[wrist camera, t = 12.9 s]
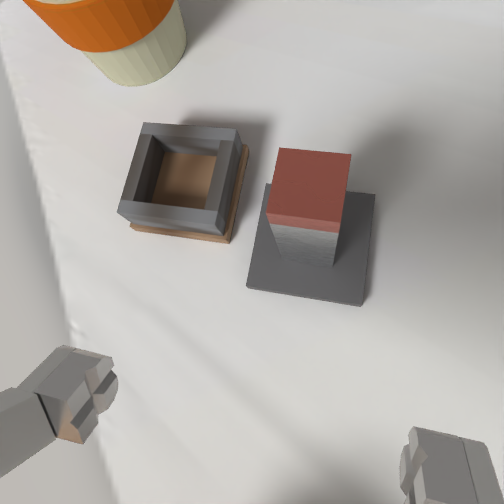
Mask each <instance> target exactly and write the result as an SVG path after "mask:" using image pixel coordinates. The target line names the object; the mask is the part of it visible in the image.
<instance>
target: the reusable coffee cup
mask: <svg viewBox="0 0 504 504" xmlns="http://www.w3.org/2000/svg"><path fill="white" fill-rule="evenodd" d="M23 1H24V2H25V3H26V4H27V5H28V6H29V7H30V8H31V9H32V10H33V11H34V12H35V13H36V14H37V15H38V16H39V17H40V18H41V19H42V20H43V21H44V22H45V23H46V24H47V25H48V26H49V27H50V28H51V29H52V30H53V31H54V32H55V33H56V34H57V35H58V36H59V37H61V38H62V39H63V40H64V41H65V42H66V43H67V44H69V45H70V46H72V47H73V48H76V49H79V50H81V51H82V52H83V53H84V54H85V55H86V56H87V57H88V58H89V59H90V60H91V61H92V62H93V63H94V64H95V65H96V67H97V68H98V69H99V70H100V71H101V72H102V73H103V74H104V75H105V76H106V77H107V78H109V79H110V80H111V81H113V82H114V83H117V84H119V85H123V86H141V85H146V84H149V83H152V82H154V81H156V80H158V79H160V78H162V77H164V76H165V75H166V74H167V73H169V72H170V71H171V70H172V69H173V68H174V67H175V66H176V65H177V63H178V62H179V60H180V59H181V57H182V55H183V53H184V51H185V47H186V42H187V38H186V31H185V27H184V23H183V19H182V15H181V11H180V8H179V4H178V0H23Z"/></svg>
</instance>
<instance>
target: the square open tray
mask: <svg viewBox="0 0 504 504" xmlns="http://www.w3.org/2000/svg"><path fill="white" fill-rule="evenodd" d="M248 154H249V150H248V147H247V145H243V144H242V143H241V140H240V137H239V134H238V132H237V129H233V128H218V127H204V126H189V125H175V124H161V123H146V122H143V126H142V129H141V133H140V136H139V139H138V143H137V146H136V149H135V153H134V156H133V159H132V163H131V166H130V169H129V173H128V176H127V180H126V183H125V186H124V190H123V193H122V196H121V200H120V203H119V206H118V210H117V213H118V214H120V215H121V216H123V217H124V218H125V219H127V220H128V221H130V222H131V224H130V227H131V228H132V229H134V230H135V231H141V232H148V233H155V234H162V235H170V236H177V237H184V238H191V239H198V240H205V241H212V242H219V243H227V244H229V242H230V238H231V233H232V228H233V224H234V219H235V214H236V210H237V205H238V200H239V196H240V191H241V186H242V182H243V177H244V172H245V168H246V163H247V158H248Z"/></svg>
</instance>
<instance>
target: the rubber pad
mask: <svg viewBox="0 0 504 504" xmlns="http://www.w3.org/2000/svg"><path fill="white" fill-rule="evenodd" d="M271 185H272V184H267V183H266V187H265V192H264V197H263V202H262V207H261V212H260V217H259V222H258V227H257V232H256V237H255V242H254V248H253V253H252V258H251V263H250V268H249V273H248V278H247V283H246V286H247V287H248V288H250V289H256V290H262V291H268V292H274V293H280V294H286V295H292V296H298V297H304V298H310V299H316V300H322V301H329V302H335V303H341V304H347V305H353V306H359V307H361V306H362V303H363V295H364V286H365V278H366V269H367V261H368V252H369V244H370V235H371V227H372V218H373V210H374V201H375V194H366V193H356V192H346V191H345V198H344V204H343V211H342V217H341V223H340V229H339V234H338V239H337V245H336V250H335V256H334V261H333V266H332V268H331V267H325V266H319V265H313V264H306V263H300V262H294V261H288V260H282V257H281V254H280V251H279V249H278V246H277V243H276V240H275V237H274V235H273V232H272V229H271V226H270V223H269V221H268V218H267V215H266V209H267V204H268V199H269V194H270V190H271Z"/></svg>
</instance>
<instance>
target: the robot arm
mask: <svg viewBox="0 0 504 504" xmlns="http://www.w3.org/2000/svg"><path fill="white" fill-rule="evenodd" d="M113 366H114V363H113V360H112V357H109V356H105V355H101V354H97V353H94V352H90V351H86V350H82V349H78V348H74V347H70V346H66V345H62V346H60V347H58V348H56V349H55V350H54V351H53V352H52V353H51V354H50V355H49V356H48V357H47V358H46V359H45V360H44V361H43V363H41V364H40V365H39V366H38V367H37V368H36V369H35V370H34V371H33V372H32V373H31V374H30V375H29V376H28V377H27V378H26V379H25V380H24V381H23V382H22V383H21V384H20V385H19V386H18V387H17V388H12V387H11V388H9V389H7V390H5V391H3V392H0V478H1V477H3V476H4V475H5V474H7V473H8V472H10V471H11V470H12V469H14V468H16V467H17V466H18V465H20V464H21V463H23V462H24V461H25V460H27V459H29V458H30V457H31V456H33V455H34V454H36V453H37V452H39V451H40V450H41V449H43V448H44V447H46V446H47V445H49V444H50V443H52V442H53V441H54V440H56V438H60V439H64V440H68V441H72V442H75V443H79V444H84V443H85V441H86V440H87V438H88V437H89V436H90V434H91V433H92V431H93V430H94V428H95V427H96V426H97V424H98V415H99V414H100V413H102V412H104V411H105V410H107V409H108V408H109V407H110V405H111V404H112V402H113V401H114V399H115V396H116V393H117V391H118V379H117V376H116V375H115V374H114V372H113V371H112V370H111V369H112V368H113ZM55 437H56V438H55ZM408 437H409V444H408V445H406V446H404V448H403V451H402V454H401V459H400V487H401V489H402V491H403V492H404V494H405V495H406V500H405V502H404V504H504V498H503V495H502V492H501V489H500V486H499V483H498V479H497V476H496V473H495V470H494V467H493V464H492V460H491V457H490V454H489V451H488V448H487V446H486V445H485V444H484V443H483V442H480V441H475V440H471V439H466V438H461V437H458V436H456V435H451V434H446V433H442V432H437V431H433V430H428V429H423V428H419V427H412V428H411V430H410V432H409V435H408Z"/></svg>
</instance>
